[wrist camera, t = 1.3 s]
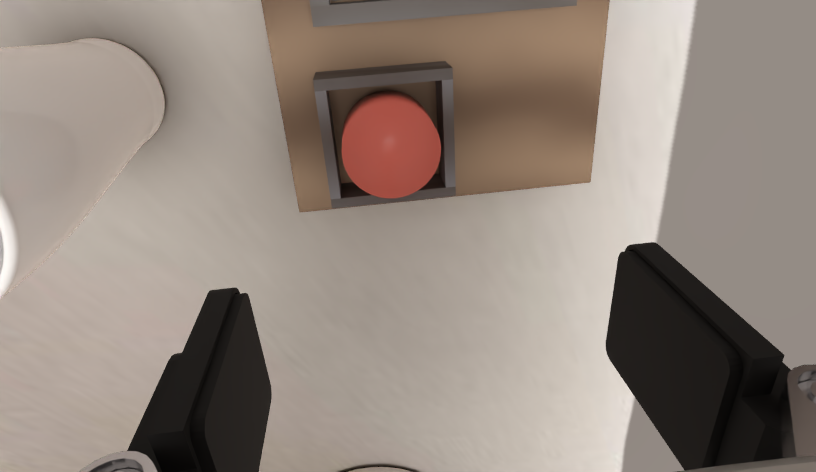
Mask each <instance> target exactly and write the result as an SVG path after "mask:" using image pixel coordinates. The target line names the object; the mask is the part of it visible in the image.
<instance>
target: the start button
mask: <svg viewBox="0 0 816 472" xmlns="http://www.w3.org/2000/svg"><path fill="white" fill-rule="evenodd" d="M440 156H441V143H440V138H439V134H438V132H437V129H436V128H435V126H434V124H433V122H432V121H431V119H430V117H429V115H428V113H427V112H426V110H425V109H424V108H423V106H422V105H421V104H420V103H419V102H418V101H416V100H415V99H414V98H412V97H410V96H409V95H407V94H404V93H401V92H397V91H380V92H375V93H372V94H370V95H368V96H366V97H364V98H362V99H361V100H360V101H358V102H357V103H356V104H355V105H354V106H353V107H352V109H351V110H350V111H349V113H348V115H347V117H346V119H345V122H344V125H343V131H342V159H343V164H344V167H345V170H346V172H347V174H348V175H349V177H350V178H351V180H352V181H353V182H354V183H355V184H356V185H357V186H358V187H359V188H360V189H362V190H363V191H365V192H367V193H369V194H371V195H374V196H377V197H381V198H400V197H404V196H407V195H410V194H412V193H414V192H416V191H418V190H419V189H421V188H422V187H423V186H425V185H426V184H427V183H428V182H429V180H430V179H431V178H432V177H433V175H434V173H435V172H436V169H437V167H438V164H439V161H440Z"/></svg>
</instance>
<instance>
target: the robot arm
mask: <svg viewBox="0 0 816 472" xmlns="http://www.w3.org/2000/svg"><path fill="white" fill-rule="evenodd" d="M606 351H607V355H608V357H609V359H610V361H611V362H612V364H613V365H614V367H615V368H616V370H617V371H618V372H619V374H620V375H621V377H622V378H623V380H624V381H625V383H626V384H627V386H628V387H629V389H630V390H631V392H632V393H633V395H634V396H635V398H636V399H637V400H638V402H639V403H640V405H641V406H642V408H643V409H644V411H645V412H646V414H647V415H648V417H649V418H650V420H651V421H652V423H653V424H654V426H655V427H656V429H657V430H658V432H659V433H660V435H661V436H662V437H663V439H664V440H665V442H666V443H667V445H668V446H669V448H670V449H671V451H672V452H673V454H674V455H675V456H676V458H677V459H678V461H679V463H680V464H681V465H682V467H683V468H684V470H685V471H677V472H816V364H815V365H814V364H813V365H801V366H798V367H795V368H793V369H792V370H790V369H789V368H788V367H787V366H786V365H785V364H784V363H783V362H782V361H783V358H784V354H782V353H781V352H780V351H779V350H778V349H777V348H776V347H775V346H773V345H772V344H771V343H770V342H769V341H768V340H767V339H765V338H764V337H763V336H762V335H761V334H760V333H759V332H757V331H756V330H755V329H754V328H753V327H752V326H751V325H749V324H748V323H747V322H746V321H745V320H744V319H743V318H741V317H740V316H739V315H738V314H737V313H736V312H735V311H734V310H732V309H731V308H730V307H729V306H728V305H727V304H725V303H724V302H723V301H722V300H721V299H720V298H718V297H717V296H716V295H715V294H714V293H713V292H712V291H711V290H709V289H708V288H707V287H706V286H705V285H704V284H703V283H701V282H700V281H699V280H698V279H697V278H696V277H695V276H694V275H692V274H691V273H690V272H689V271H688V270H687V269H686V268H684V267H683V266H682V265H681V264H680V263H679V262H678V261H676V260H675V259H674V258H673V257H672V256H671V255H670V254H668V253H667V252H666V251H665V250H664V249H663V248H662V247H661V246H659V245H658V244H657V243H653V242H652V243H642V244H633V245H629V246H627V248H626V250H625V252H621V253H620V255H619V257H618V263H617V270H616V277H615V284H614V291H613V297H612V304H611V311H610V318H609V325H608V332H607V338H606ZM270 404H271V385H270V380H269V376H268V372H267V368H266V364H265V360H264V356H263V352H262V348H261V344H260V340H259V336H258V332H257V328H256V324H255V320H254V316H253V311H252V307H251V303H250V299H249V296H248V294H247V293H242V294H240V292H239V290H238V289H237V288H228V289H219V290H211V291H209V293H208V295H207V297H206V299H205V301H204V304H203V306H202V308H201V311H200V313H199V315H198V318H197V320H196V322H195V325H194V327H193V329H192V331H191V334H190V336H189V338H188V341H187V343H186V345H185V348H184V350H183V352H182V353H177V354H174V355H173V356H171V358H170V359H169V361H168V363H167V365H166V367H165V370H164V372H163V374H162V376H161V378H160V381H159V383H158V385H157V387H156V389H155V391H154V394H153V396H152V398H151V400H150V402H149V405H148V407H147V409H146V411H145V413H144V415H143V418H142V420H141V422H140V424H139V426H138V429H137V431H136V433H135V435H134V437H133V439H132V442H131V444H130V446H129V448H128V450H127V451H122V452H117V453H113V454H109V455H107V456H104V457H102V458H100V459H98V460H95V461H94V462H92V463H91V464H89V465H87V466H86V467H84V468H83V469H81V470H80V471H79V472H258V471H259V466H260V460H261V455H262V449H263V443H264V438H265V432H266V426H267V421H268V415H269V409H270ZM348 472H411V471H407V470H404V469H399V468H391V467H369V468H361V469H355V470H352V471H348Z"/></svg>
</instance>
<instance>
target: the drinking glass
mask: <svg viewBox="0 0 816 472" xmlns="http://www.w3.org/2000/svg"><path fill="white" fill-rule="evenodd" d="M164 109H165V100H164V94H163V90H162V87H161V84H160V82H159V80H158V78H157V76H156V74H155V73H154V71H153V70H152V69H151V67H150V66H149V65H148V64H147V63H146V62H145V61H144V60H143V59H142V58H141V57H140V56H139V55H138V54H136V53H135V52H133V51H132V50H130V49H129V48H127V47H125V46H123V45H121V44H119V43H116V42H113V41H109V40H105V39H99V38H85V39H78V40H74V41H70V42H66V43H56V44H44V45H30V46H17V47H2V48H0V299H1V298H3V297H4V296H5V295H6V294H7V293H9V292H10V291H11V290H12V289H14V288H15V287H16V286H17V285H19V284H20V283H21V282H22V281H23V280H24V279H26V278H27V277H28V276H29V275H30V274H31V273H33V272H34V271H35V270H36V269H37V268H38V267H39V266H40V265H41V264H42V263H44V262H45V261H46V260H47V259H48V258H49V257H50V256H51V255H52V254H53V253H54V252H55V251H56V250H57V249H58V248H59V247H60V246H61V245H62V244H63V243H64V242H65V241H66V240H67V238H68V237H69V236H70V235H71V234H72V233H73V232H74V231H75V230H76V228H77V227H78V226H79V225H80V224H81V222H82V221H83V220H84V219H85V217H86V216H87V215H88V214H89V212H90V211H91V210H92V209H93V207H94V206H95V205H96V203H97V202H98V201H99V199H100V198H101V197H102V196H103V194H104V193H105V192H106V190H107V189H108V188H109V187H110V185H111V184H112V183H113V181H114V180H115V179H116V178H117V176H118V175H119V174H120V172H121V171H122V170H123V169H124V167H125V166H126V165H127V164H128V162H129V161H130V160H131V159H132V157H133V156H134V155H135V154H136V152H137V151H138V150H139V149H140V147H141V146H142V145H143V144H145V143H146V142H147V141H148V140H149V139H150V138H151V137H152V136H153V135H154V134H155V133H156V131H157V130H158V128H159V127H160V124H161V122H162V119H163V116H164Z"/></svg>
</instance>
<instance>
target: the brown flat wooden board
mask: <svg viewBox="0 0 816 472" xmlns="http://www.w3.org/2000/svg"><path fill="white" fill-rule="evenodd" d="M261 2H262V7H263V13H264V18H265V24H266V29H267V35H268V41H269V46H270V52H271V57H272V63H273V68H274V74H275V79H276V85H277V90H278V96H279V101H280V107H281V112H282V118H283V123H284V129H285V134H286V140H287V145H288V151H289V156H290V162H291V168H292V173H293V179H294V184H295V190H296V195H297V201H298V206H299V212H308V211H318V210H328V209H337V208H347V207H357V206H366V205H376V204H386V203H395V202H405V201H415V200H424V199H434V198H443V197H453V196H463V195H472V194H482V193H492V192H501V191H511V190H521V189H530V188H540V187H550V186H559V185H569V184H579V183H588V182H590V181H591V171H592V162H593V152H594V143H595V133H596V124H597V114H598V105H599V95H600V86H601V76H602V67H603V57H604V48H605V38H606V29H607V19H608V10H609V0H261ZM380 91H397V92H401V93H404V94H407V95H409V96H410V97H412V98H414V99H415V100H416V101H418V102H419V103H420V104H421V105H422V106H423V108H424V109H425V110H426V112H427V113H428V115H429V117H430V119H431V121H432V122H433V124H434V126H435V128H436V129H437V132H438V134H439V138H440V143H441V156H440V161H439V164H438V167H437V169H436V172H435V173H434V175H433V177H432V178H431V179H430V180H429V182H428V183H427V184H426V185H425V186H423V187H422V188H421V189H419V190H418V191H416V192H414V193H412V194H410V195H407V196H404V197H400V198H381V197H377V196H374V195H371V194H369V193H367V192H365V191H363V190H362V189H360V188H359V187H358V186H357V185H356V184H355V183H354V182H353V181H352V180H351V178H350V177H349V175H348V174H347V172H346V170H345V167H344V164H343V159H342V131H343V125H344V122H345V119H346V117H347V115H348V113H349V111H350V110H351V109H352V107H353V106H354V105H355V104H356V103H357V102H358V101H360V100H361V99H362V98H364V97H366V96H368V95H370V94H372V93H375V92H380Z"/></svg>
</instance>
